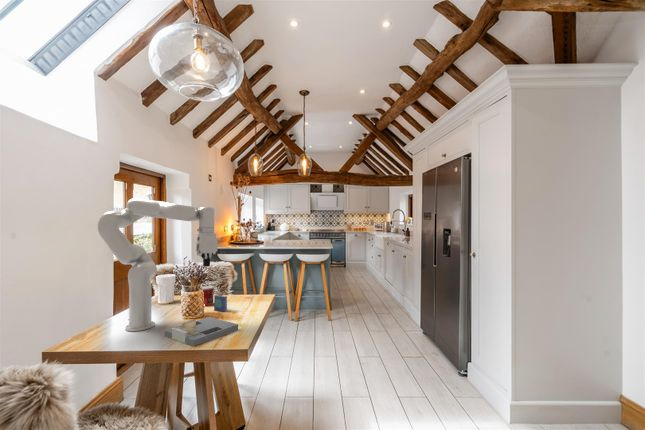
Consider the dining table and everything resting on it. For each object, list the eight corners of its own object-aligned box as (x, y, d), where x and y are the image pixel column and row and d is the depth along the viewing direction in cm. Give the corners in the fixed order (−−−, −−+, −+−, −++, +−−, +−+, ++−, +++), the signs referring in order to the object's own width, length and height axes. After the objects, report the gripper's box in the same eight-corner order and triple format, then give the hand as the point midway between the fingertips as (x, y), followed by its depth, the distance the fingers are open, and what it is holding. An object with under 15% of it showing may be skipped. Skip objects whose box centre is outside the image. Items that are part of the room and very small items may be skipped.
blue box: (227, 311, 182) (227, 292, 182) (224, 312, 179) (224, 293, 179) (216, 309, 186) (216, 291, 186) (212, 310, 184) (212, 292, 184)
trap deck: (164, 335, 143) (164, 325, 143) (209, 321, 163) (209, 312, 163) (193, 346, 131) (193, 335, 131) (238, 329, 151) (238, 320, 151)
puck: (178, 333, 140) (178, 321, 140) (191, 329, 144) (191, 318, 144) (185, 336, 136) (185, 324, 136) (198, 332, 140) (198, 321, 140)
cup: (178, 300, 208) (178, 274, 208) (171, 304, 197) (171, 277, 197) (160, 300, 207) (160, 274, 207) (152, 305, 196) (152, 277, 196)
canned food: (209, 306, 191) (209, 288, 192) (197, 306, 193) (197, 288, 193) (215, 303, 199) (215, 286, 199) (204, 302, 201) (204, 285, 201)
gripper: (198, 231, 154) (198, 268, 153) (223, 230, 166) (223, 265, 166) (189, 231, 158) (189, 267, 158) (214, 230, 170) (214, 264, 170)
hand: (206, 266), depth 162 cm, fingers closed
